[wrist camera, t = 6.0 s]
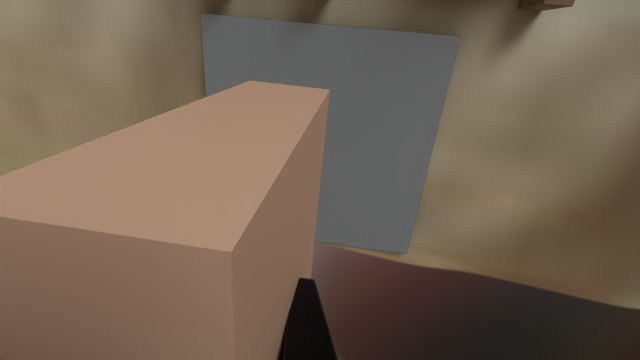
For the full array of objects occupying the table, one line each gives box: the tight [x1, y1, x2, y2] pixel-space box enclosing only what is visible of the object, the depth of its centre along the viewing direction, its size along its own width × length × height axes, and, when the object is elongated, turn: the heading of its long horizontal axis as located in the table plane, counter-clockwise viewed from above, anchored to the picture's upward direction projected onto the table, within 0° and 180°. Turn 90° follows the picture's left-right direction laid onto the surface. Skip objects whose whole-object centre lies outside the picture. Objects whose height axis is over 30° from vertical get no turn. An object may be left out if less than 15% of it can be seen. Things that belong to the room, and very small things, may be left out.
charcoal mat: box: [200, 13, 460, 254], centre depth 20 cm, size 14×14×1 cm
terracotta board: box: [0, 81, 330, 360], centre depth 8 cm, size 2×9×8 cm, turn 175°
